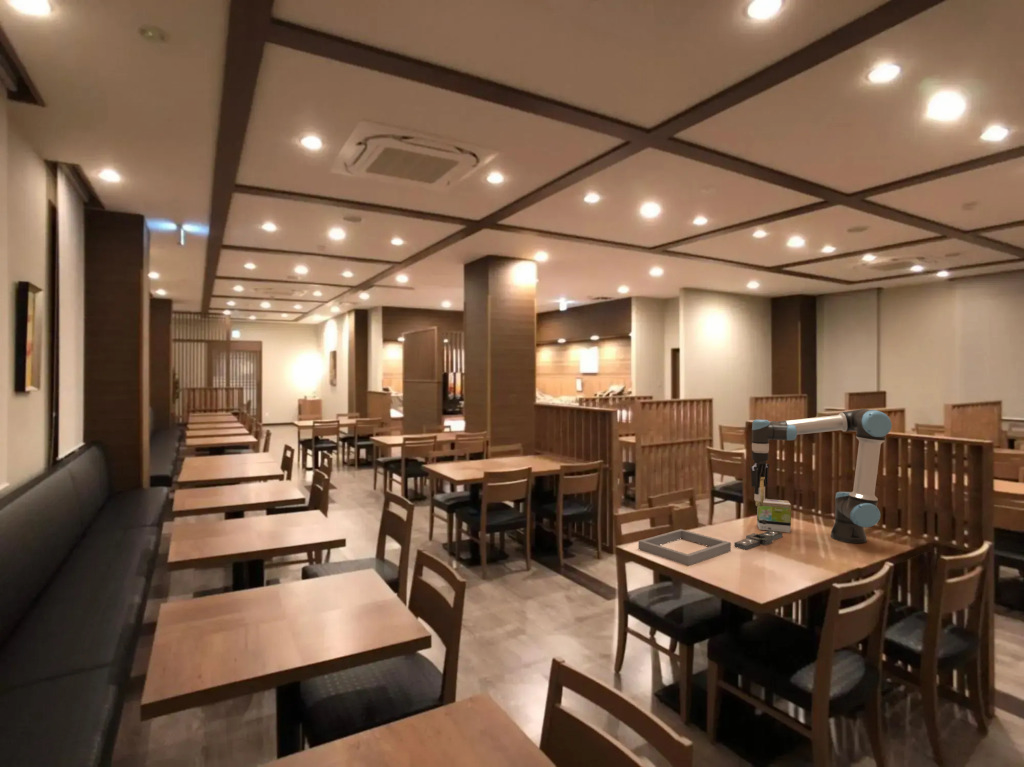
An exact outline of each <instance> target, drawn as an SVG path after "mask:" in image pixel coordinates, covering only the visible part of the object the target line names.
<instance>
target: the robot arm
mask: <svg viewBox="0 0 1024 767" xmlns="http://www.w3.org/2000/svg"><path fill="white" fill-rule="evenodd" d="M751 424H752V425H751V427H752V428H751V451H752V452H751V459H752V461H753V462H754V463H753V466H751V465H750V473H751V474H750V475H751V477H750V478H751V487H753V488H754V489H753V490H754V494H753V495H754V497H753V498H754V499H753V500H754V501H755V502H756V501H761V488H759V487H760V477H761V476H763V477H765V479H764V498H763V500H765V499H766V488H768V486H769V473H770V472H769V471H770V470H769V469H770V464H769V463H767V461H769V460H770V458H769V456H770V455H769V454H770V453H769V451H770V440H772V441H795V440H796V438H797V436H798V435H806V434H814V433H816V434H817V433H825V432H834V431H842V432H844V433H845V432H855V433H856V435H855V438H856V439H857V440H858V447H857V457H856V463H855V465H856V466H855V472H854V473H855V474H854V481H853V487H852V488H853V490H852V491H837V492H835V498H834V499H835V500H834V502H835V503H834V505H835V507H834V508H835V509H834V510H835V511H834V512H835V515H834V516H835V518H834V520H835V521H834V523H833V526H832V528H831V531H830V538H832V539H833V540H835V541H839V542H844V543H849V544H863V543H867V540H868V539H867V535H866V534H867V533H866V531H865V528H871V527H874V526H875V525H877V524H878V523H879V521H880V519H881V511H880V509H879V508H878V502H879V500H878V499H879V498H878V497H877V496H876V495H875V493H876V484H877V478H878V477H877V476H878V471H879V470H878V469H879V462H880V454H881V445H882V444H883V443H884V442H886V437H887V435H888V434H889V433H890V432H891V430H892V426H893V425H892V420H891V418H890V417H889V416H888V415H887V414H886V413H885V412H882V411H880V410H878V409H877V410H876V409H869V408H858V409H854V410H850V411H849V410H848V411H841V412H839V413H838V414H832V415H824V416H816V417H809V418H807V417H806V418H799V419H790V420H779V421H776V420H773V421H769V420H768V419H753V420H752V423H751Z"/></svg>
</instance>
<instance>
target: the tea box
mask: <svg viewBox="0 0 1024 767" xmlns="http://www.w3.org/2000/svg"><path fill="white" fill-rule="evenodd" d="M756 507H757V508H756V510H757V511H756V512H757V514H756V526H757V527H758V530H759V531H770V530H772V531H776V532H780V533H788V534H789V533H791V530H792V529H791V528H792V527H791V525H792V503H790V501H789V500H781V499H768V498H765V500H763V506H756Z"/></svg>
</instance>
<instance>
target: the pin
mask: <svg viewBox="0 0 1024 767" xmlns="http://www.w3.org/2000/svg"><path fill="white" fill-rule="evenodd" d="M764 479H765V477H763V476H761V477H760V487H759V488H761V501H755V506H756V507H758V506H763V498H764Z"/></svg>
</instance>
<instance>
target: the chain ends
mask: <svg viewBox="0 0 1024 767" xmlns="http://www.w3.org/2000/svg"><path fill="white" fill-rule="evenodd" d="M783 533H784V532H779V531H772V530H766V531H764V532H762V533H754V532H753V533H751V534H750V533H749V534H747V535H745V538H744V539H741V540H737V541H735V542H734V543H733V544H734V546H735V547H734V546H733V547H734V548H737V547H738V548H737V549H742V550H744V549H745V550H746V551H748V550H751V549H754V548H755V547H759V546H767V545H770V544H771V545H772V544H773V541H775V540H778V539H782V538H783V535H784V534H783Z"/></svg>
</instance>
